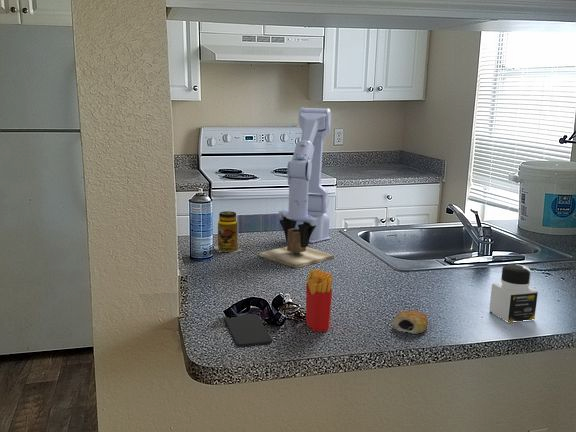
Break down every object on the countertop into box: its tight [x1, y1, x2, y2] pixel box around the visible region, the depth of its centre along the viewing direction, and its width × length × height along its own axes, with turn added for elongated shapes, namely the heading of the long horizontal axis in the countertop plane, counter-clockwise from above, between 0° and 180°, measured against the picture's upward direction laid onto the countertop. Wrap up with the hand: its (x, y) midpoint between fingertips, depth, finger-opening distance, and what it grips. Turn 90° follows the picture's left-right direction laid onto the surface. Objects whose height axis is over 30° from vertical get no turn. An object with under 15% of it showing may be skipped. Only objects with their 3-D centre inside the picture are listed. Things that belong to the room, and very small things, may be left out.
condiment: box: [213, 210, 244, 254], centre depth 178 cm, size 7×8×12 cm
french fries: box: [305, 268, 334, 332], centre depth 121 cm, size 8×4×12 cm, turn 21°
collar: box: [286, 227, 306, 252], centre depth 171 cm, size 6×6×6 cm
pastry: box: [391, 309, 429, 335], centre depth 123 cm, size 9×7×4 cm
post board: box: [258, 246, 335, 269], centre depth 172 cm, size 16×16×5 cm
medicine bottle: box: [488, 263, 539, 322], centre depth 129 cm, size 7×7×12 cm
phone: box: [224, 313, 273, 348], centre depth 119 cm, size 7×1×15 cm
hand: (296, 244), depth 172 cm, fingers closed on collar, 6 cm apart
